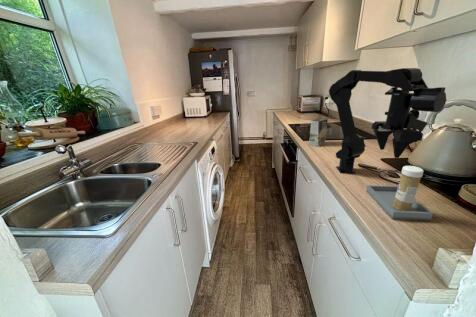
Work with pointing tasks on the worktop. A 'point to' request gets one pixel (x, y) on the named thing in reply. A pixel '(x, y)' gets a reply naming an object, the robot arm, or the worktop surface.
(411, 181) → the sprinkles bottle
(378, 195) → the tray
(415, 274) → the worktop surface
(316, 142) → the coffee box
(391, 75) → the robot arm
